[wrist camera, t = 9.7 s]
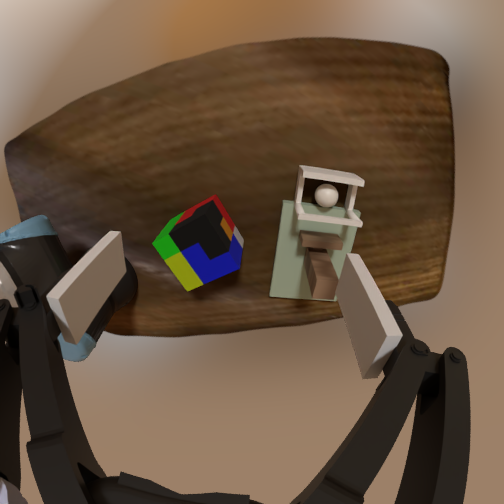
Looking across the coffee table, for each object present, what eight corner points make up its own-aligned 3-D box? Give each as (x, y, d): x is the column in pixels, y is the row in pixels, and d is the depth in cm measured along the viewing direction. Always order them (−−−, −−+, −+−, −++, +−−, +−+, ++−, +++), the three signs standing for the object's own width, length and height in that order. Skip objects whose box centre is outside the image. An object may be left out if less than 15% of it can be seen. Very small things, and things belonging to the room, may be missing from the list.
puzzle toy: (243, 240, 51) (239, 268, 42) (199, 261, 54) (187, 291, 45) (216, 194, 47) (205, 213, 38) (170, 219, 50) (152, 243, 41)
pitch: (269, 291, 56) (270, 316, 50) (287, 163, 44) (292, 172, 37) (334, 296, 56) (342, 320, 50) (365, 175, 44) (381, 187, 38)
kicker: (294, 261, 51) (300, 297, 41) (299, 229, 48) (309, 261, 38) (330, 264, 51) (344, 300, 41) (337, 234, 48) (355, 265, 38)
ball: (317, 177, 43) (312, 189, 47) (318, 199, 42) (312, 209, 46) (340, 181, 43) (333, 192, 47) (342, 202, 42) (334, 212, 46)
